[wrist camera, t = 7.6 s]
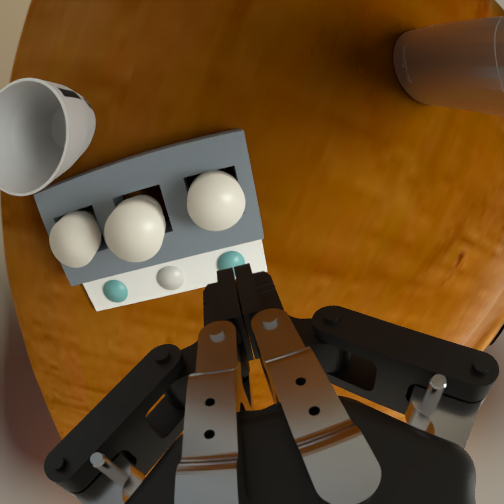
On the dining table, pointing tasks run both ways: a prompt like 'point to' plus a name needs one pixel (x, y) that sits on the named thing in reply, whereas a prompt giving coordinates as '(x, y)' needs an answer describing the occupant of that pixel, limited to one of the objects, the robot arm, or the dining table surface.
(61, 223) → the button
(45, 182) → the cup
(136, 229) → the button
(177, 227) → the board
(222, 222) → the button
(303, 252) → the dining table surface
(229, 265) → the strip
